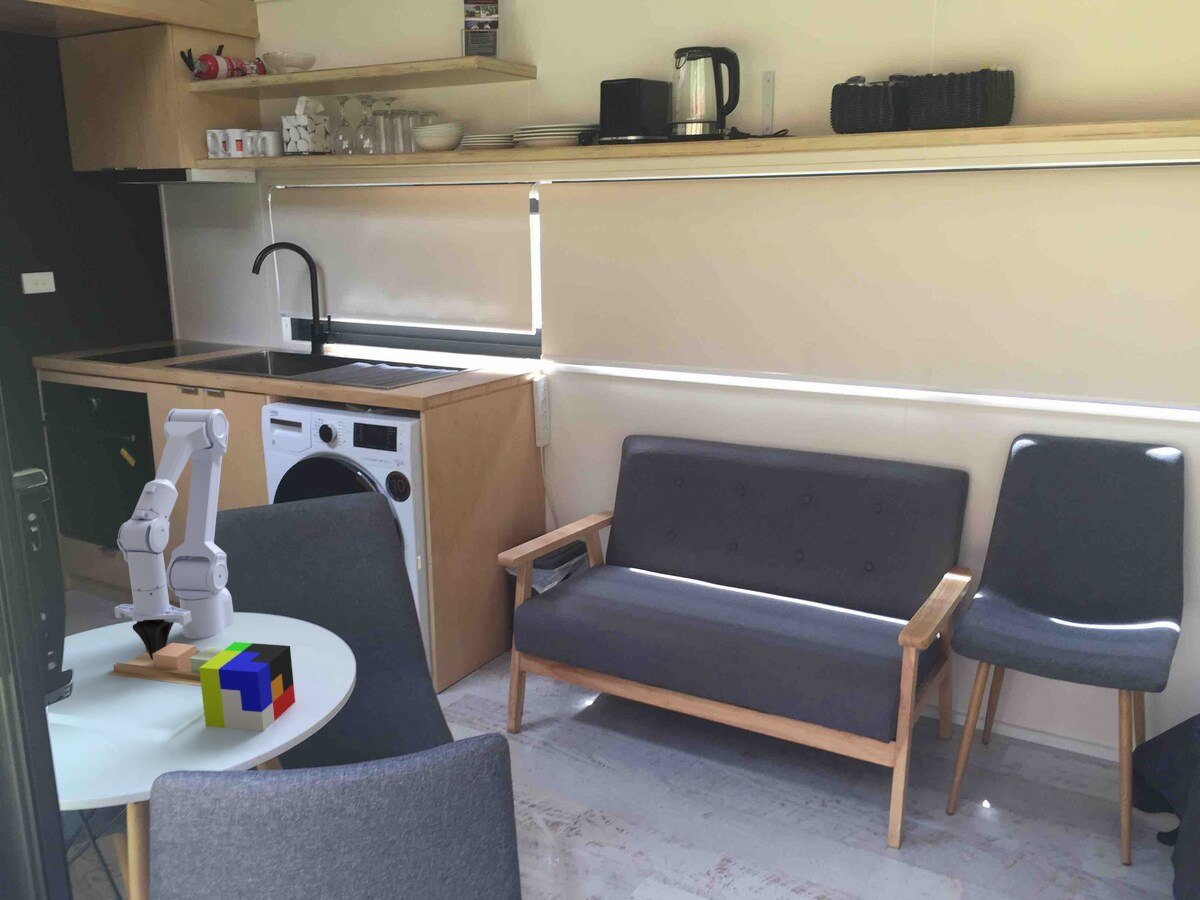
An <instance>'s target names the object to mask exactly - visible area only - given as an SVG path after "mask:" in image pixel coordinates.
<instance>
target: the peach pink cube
mask: <svg viewBox="0 0 1200 900" xmlns="http://www.w3.org/2000/svg"><path fill="white" fill-rule="evenodd" d="M196 650H197V647H196V644H185V643H178V642H177V643H176V642H171V643H169V644H166V646H165V647H164V648H162V649H160V650H158V651H157V652H155V653H153V663H154V667H156V668H164V669H172V670H180V671H182V670H184V669H185V668H187V667H189V666H190V658H191V657H192V656H194V655H196Z"/></svg>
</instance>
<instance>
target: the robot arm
mask: <svg viewBox="0 0 1200 900" xmlns="http://www.w3.org/2000/svg"><path fill="white" fill-rule="evenodd" d="M229 431H230V423H229V421H228V418H227V416H226V415H225V413H224V411H222V410H221V409H219V408H213V409H196V408H195V409H190V408H189V409H187V408H185V409H184V408H183V409H182V408H175V407H174V408H172V409H171V410H169V411H168V413H167V415H166V417H165V420H164V424H163V433H164V437H165V440H166V442H165V446H164V449H163V452H162V455H161V458H160V461H159V465H158V468H157V471H156V474H155V478H154V480H151V481H148V482H147V483H146V484H145V485H144V488H143V490H142V492H141V494H140V496H139V499H138V501H137V504H136V506H135V509H134V511H133V513H132V515H131V517H130V519H128V520H127V521H125V522H124V523H122V524H121V526H119V527H120V528H119V529H118V533H117V534H118V535H117V540H116V543H117V545H118V548H119V550H120V551H121V552H122V554H123V559H124V561H125V562H126V563H127V564H128V572H129V574H128V575H129V579H130V587H131V594H132V595H131V596H132V603H130V604H129V603H121V604H120V605H117V606H114V615H115V618H116V619H122V618H130V619H132V621H134V622H136V623H134V624H132V630H133V631H134V632H135V633H136V634H137V635H138V637H139V638H140V639H141V641H142V642H143V645H144V647H146V648H147V651H148V653H149V655H150V657H151V660H153V653H155V652H157V651H158V650H160V649H162V648H164V647H165V646H167V645H168V638H169V635H170V634H171V630H172V627H173V625H174V623H176V624H177V623H178V624H179V625H181V626H182V633H183V636H184V637H185V638H186V639H193V640H197V639H198V640H199V639H206V638H210V637H214V636H217V635H218V634H221V632H223V631H224V630H225V629H226V628H227V627H229V626H231V625H232V624H233V623H235V618H234V617H235V616H234V607H233V599H232V595H231V593H230V591H229V590H228V588H227V587H226V585H227V583H228V579H229V570H228V566H227V556H228V555H227V553H226V552H225V551H224V550H222V549H221V547H219V546H217V545H216V544H215V536H216V535H215V534H216V525H217V524H216V523H217V522H216V521H217V514H218V505H219V504H218V502H219V493H220V485H221V484H220V481H221V472H222V461H223V455H226V453H227V449H228V441H229ZM189 459H192V465H191V466H192V467H191V476H190V485H189V486H190V487H189V496H188V507H187V515H186V526H185V534H184V541H183V543H181V544H180V545H179V546H177V547H176V548H175V549H174V550H172V552H171V555H170V557H171V558H170V560H169V564H168V566H167V568H166V565H165V556H164V550H165V548H166V547H167V545H168V543H169V540H170V524H171V522H170V521H169V519H170V516H171V514H172V512H173V509H174V507H175V504H176V502H177V499H178V496H179V492H178V489H176V484H177V482H178V480H179V478H180V476H181V474H182V473H183V470H184V469H185V467H186V464H187V462H188V461H189ZM191 558H192V559H191ZM194 558H207V559H194ZM168 588H169V589H170V590H171V591H173V592H174V596H175V597H178V598H179V599H178V600H179V607H180V608H179V607H176V606H174V605H172V604H170V598H169V590H168ZM146 648H145V649H146Z"/></svg>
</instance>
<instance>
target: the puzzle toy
mask: <svg viewBox="0 0 1200 900" xmlns="http://www.w3.org/2000/svg"><path fill="white" fill-rule="evenodd" d="M291 651H292V650H291V645H283V644H281V645H280V644H267V643H255V642H253V643H252V642H241V641H239V642H238V641H233V642H232V643H231V644H230V645H228V646H227V647H226V648H225V649H224V650H223V651H221V652H220V653H219V654H217V655H216V656H215V657H213V658H212V659H210V660H209V661H208V662H206V663H205V664H204V665H202V666H201V667H199V671H200V680H201V686H200V687H201V695H202V697H201V698H202V705H203V712H204V722H205V723H204V724H205V727H211V728H212V727H213V728H221V729H232V730H233V729H235V730H246V731H255V732H256V731H257V732H265V731H266V730H267V729H268V728H269V727H270V726H271V725H272V724H273V723H275V722H276V720H277V719H279V718H280V717H281V716H282V715H283V714H284V713H285V712H286V711H287V710H288V709H289V708H290V707H292V706H293V705H294V704H295V703H296V695H295V693H296V692H295V686H294V685H295V684H294V683H295V682H294V675H293V674H294V673H293V663H292V652H291Z"/></svg>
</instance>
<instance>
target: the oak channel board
mask: <svg viewBox="0 0 1200 900" xmlns="http://www.w3.org/2000/svg"><path fill="white" fill-rule="evenodd" d="M144 647H145V648H144V649H145V652H143V653H142V654H139V655H138V656H137V657H135V658H133V659H131V660H129V661H128V662H126V663H124V662H123V663H122V662H117V663H115V664H113V670H112V671H111V672H109V673H108V675H111V676H116V677H117V676H118V677H126V678H135V679H140V680H141V679H143V680H149V681H158V682H166V683H172V684H173V683H174V684H181V685H188V686H189V685H190V686H196V687H197V686H198V687H201V680H200V671H199V667H201V666H202V665H204V664H205V663H206V662H208V661H209V660H210V659H212V658H213V657H215V656H216V655H217V654H219V653H220V652H221V651H223V650H224V649H226V648H225V647H216V646H207V647H206V648H203V649H202V650H199V649H198V650H197V649H196V655H194V656H192V657H191V658H190V666H189V667H187V668H185V669H184V670H182V671H180V670H172V669H164V668H156V667H154V663H153V660H151V657H150V655H149V653H148V651H147V648H146V646H144Z"/></svg>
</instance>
